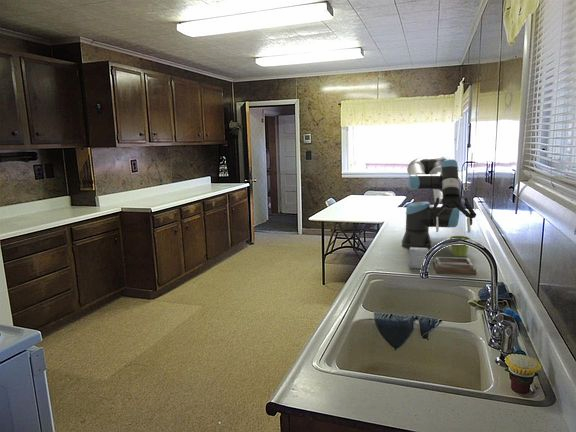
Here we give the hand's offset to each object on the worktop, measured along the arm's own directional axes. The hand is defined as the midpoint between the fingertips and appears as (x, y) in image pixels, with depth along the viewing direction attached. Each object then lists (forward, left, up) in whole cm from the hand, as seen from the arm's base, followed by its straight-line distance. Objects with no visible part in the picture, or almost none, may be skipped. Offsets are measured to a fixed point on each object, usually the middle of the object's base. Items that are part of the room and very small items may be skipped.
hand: (453, 231), depth 192 cm
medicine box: (+7, -15, -16) cm, 23 cm away
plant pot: (-14, +6, -16) cm, 22 cm away
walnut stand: (+7, 0, -15) cm, 17 cm away
